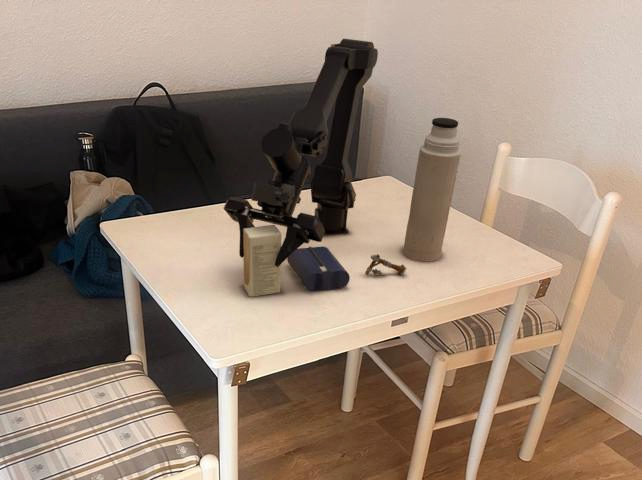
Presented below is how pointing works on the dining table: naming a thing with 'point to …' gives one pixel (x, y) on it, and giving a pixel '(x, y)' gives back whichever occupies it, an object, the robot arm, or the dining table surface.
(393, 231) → the dining table surface
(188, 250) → the dining table surface
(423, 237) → the thermos bottle
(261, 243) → the cosmetic box
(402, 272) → the wooden post with brackets
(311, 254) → the pouch
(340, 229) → the robot arm
